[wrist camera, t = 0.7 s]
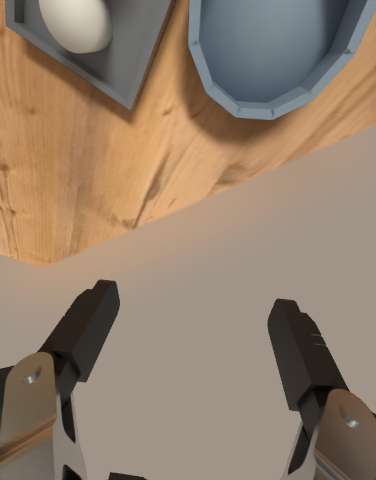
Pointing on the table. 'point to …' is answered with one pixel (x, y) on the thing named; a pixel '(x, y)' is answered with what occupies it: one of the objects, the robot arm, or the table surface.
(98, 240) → the table surface
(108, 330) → the robot arm
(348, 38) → the bowl
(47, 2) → the white marshmallow
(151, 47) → the parts tray
